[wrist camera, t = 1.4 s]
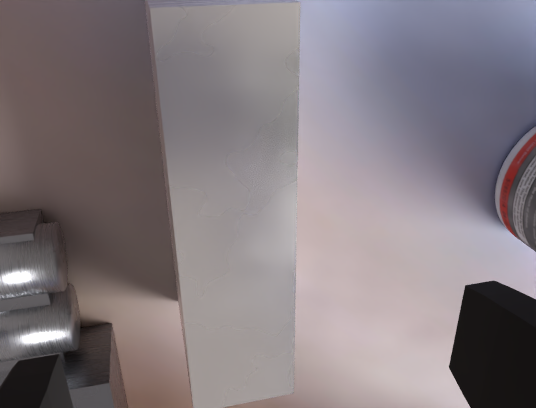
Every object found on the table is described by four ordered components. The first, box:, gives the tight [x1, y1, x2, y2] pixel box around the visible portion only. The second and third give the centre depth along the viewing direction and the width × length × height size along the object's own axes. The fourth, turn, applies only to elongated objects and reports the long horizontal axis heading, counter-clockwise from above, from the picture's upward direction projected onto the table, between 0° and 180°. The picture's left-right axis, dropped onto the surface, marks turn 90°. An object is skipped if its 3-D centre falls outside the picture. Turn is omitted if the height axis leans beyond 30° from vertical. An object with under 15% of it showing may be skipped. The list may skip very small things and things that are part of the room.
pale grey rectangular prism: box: [144, 0, 300, 408], centre depth 15 cm, size 3×11×6 cm, turn 0°
